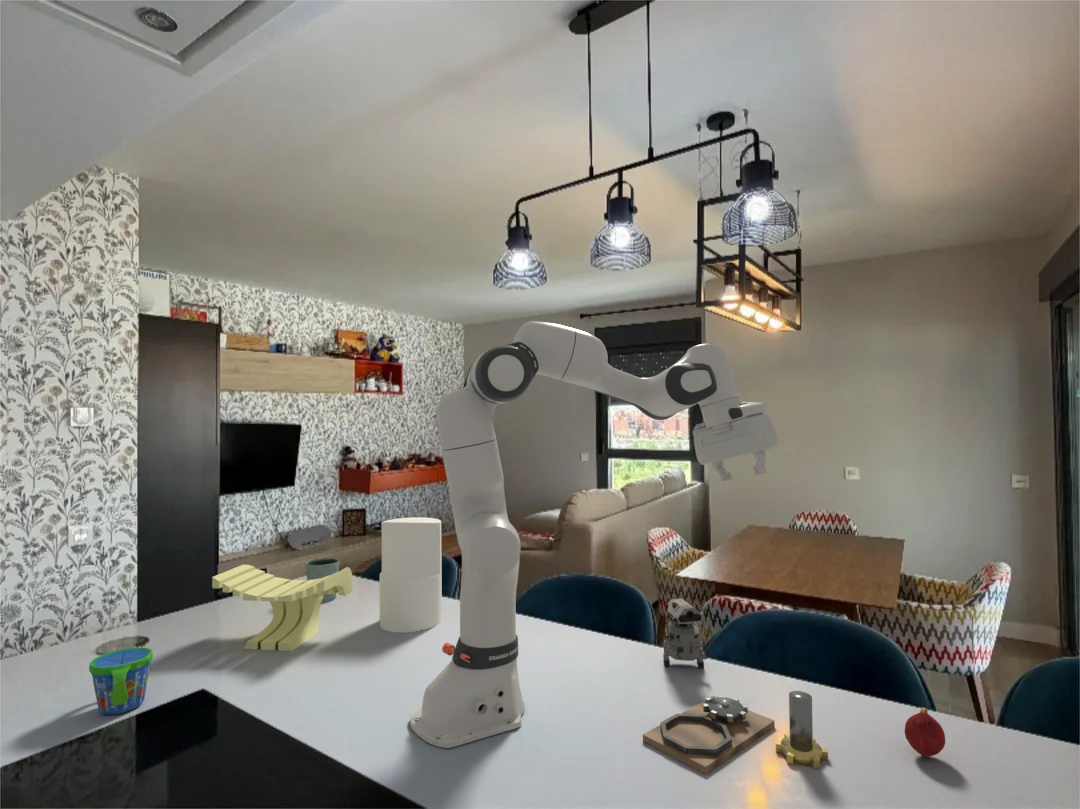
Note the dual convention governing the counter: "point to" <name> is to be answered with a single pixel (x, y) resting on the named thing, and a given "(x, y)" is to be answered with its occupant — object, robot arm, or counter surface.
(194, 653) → the counter surface
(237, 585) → the slatted curved stool
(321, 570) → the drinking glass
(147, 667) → the snack cup
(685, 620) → the figurine
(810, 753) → the gear
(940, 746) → the onion
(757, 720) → the gear board
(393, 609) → the cylinder
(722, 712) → the gear
